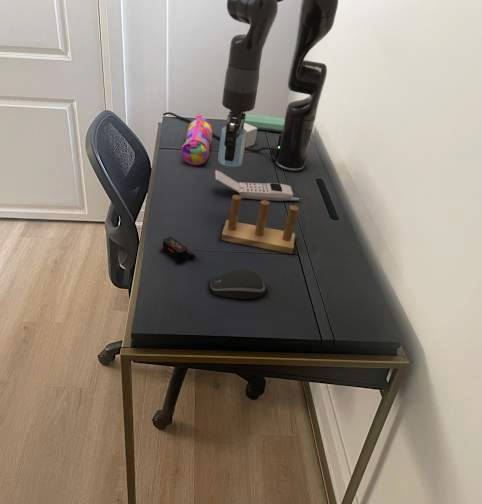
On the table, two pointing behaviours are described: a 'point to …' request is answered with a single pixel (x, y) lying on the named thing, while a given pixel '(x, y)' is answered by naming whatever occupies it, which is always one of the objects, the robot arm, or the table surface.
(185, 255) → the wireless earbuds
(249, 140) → the white cube
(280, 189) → the mobile phone
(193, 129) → the pencil case
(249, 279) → the computer mouse
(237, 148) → the cup
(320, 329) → the table surface
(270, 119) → the teal long bar
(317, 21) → the robot arm
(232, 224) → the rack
